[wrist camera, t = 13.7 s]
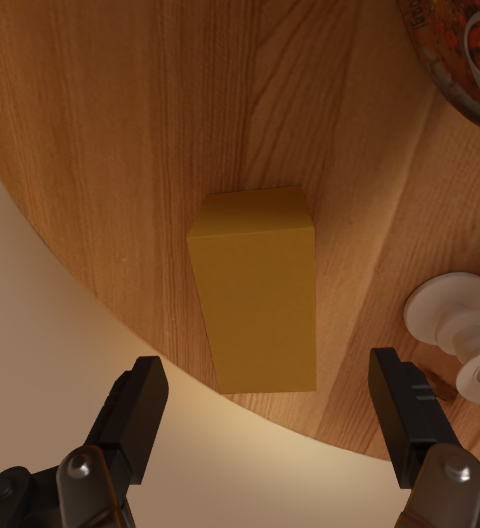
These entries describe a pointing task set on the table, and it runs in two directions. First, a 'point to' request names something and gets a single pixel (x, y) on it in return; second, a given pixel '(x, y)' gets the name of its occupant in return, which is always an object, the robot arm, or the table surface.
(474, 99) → the tin
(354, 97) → the table surface
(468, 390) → the candle
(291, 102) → the table surface
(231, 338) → the block
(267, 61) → the table surface
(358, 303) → the table surface
